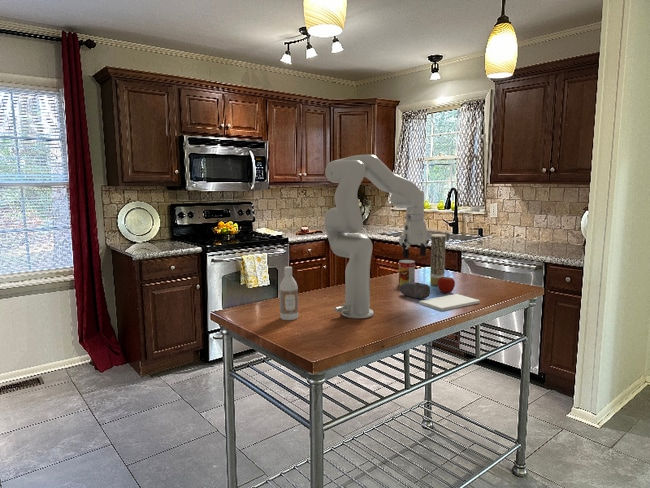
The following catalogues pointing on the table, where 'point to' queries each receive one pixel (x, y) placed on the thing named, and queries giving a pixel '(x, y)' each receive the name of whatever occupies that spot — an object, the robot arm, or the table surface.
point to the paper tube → (437, 258)
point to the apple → (446, 284)
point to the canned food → (406, 271)
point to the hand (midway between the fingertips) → (414, 256)
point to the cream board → (449, 302)
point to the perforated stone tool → (415, 290)
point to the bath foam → (288, 296)
